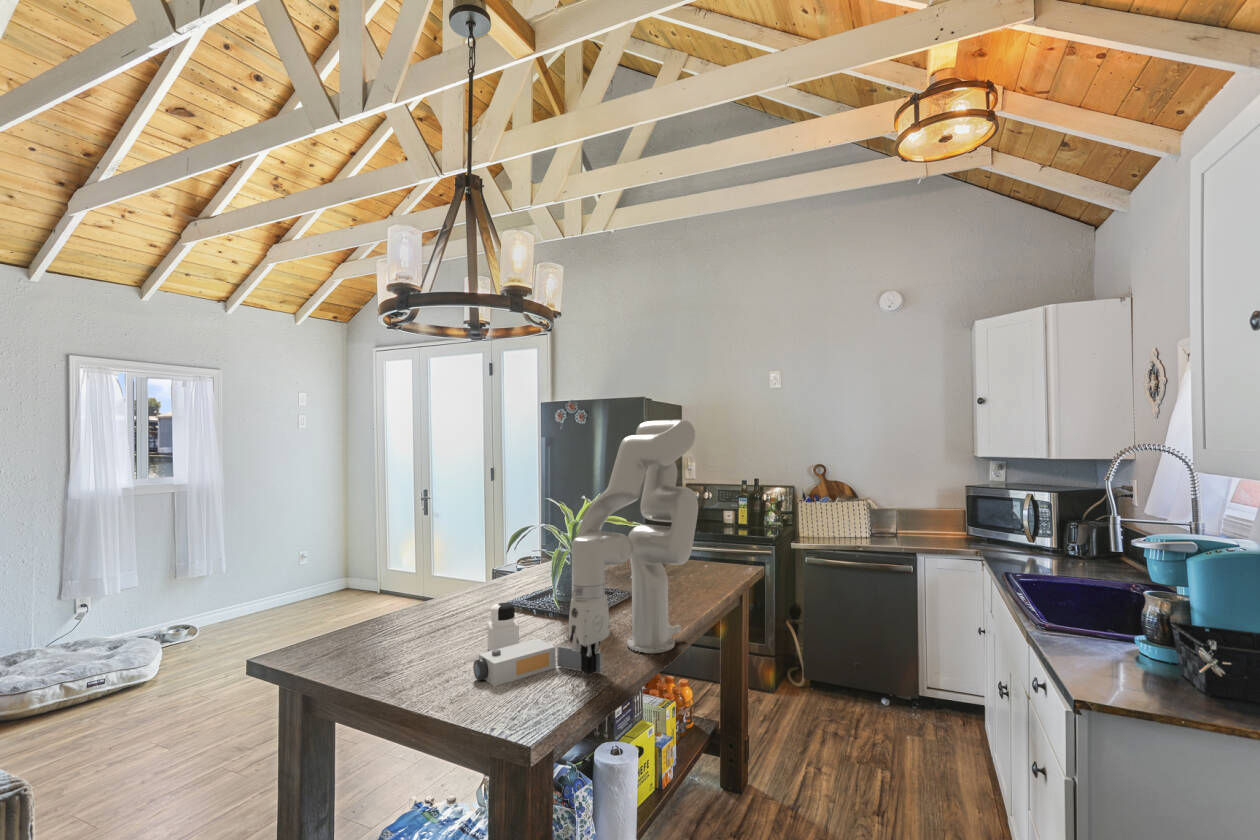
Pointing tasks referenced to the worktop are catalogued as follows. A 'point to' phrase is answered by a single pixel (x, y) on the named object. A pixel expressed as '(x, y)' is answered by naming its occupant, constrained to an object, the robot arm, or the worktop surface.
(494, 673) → the camera body
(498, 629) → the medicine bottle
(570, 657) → the side door
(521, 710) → the worktop surface
